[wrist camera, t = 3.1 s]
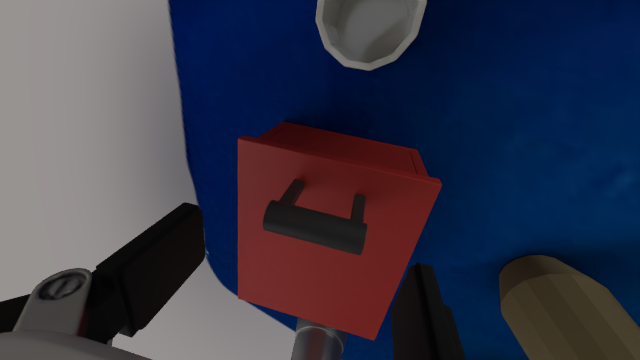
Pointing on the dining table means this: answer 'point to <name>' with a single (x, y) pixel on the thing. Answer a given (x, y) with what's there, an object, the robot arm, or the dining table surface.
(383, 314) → the red box lid
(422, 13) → the container
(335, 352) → the silver metal bottle
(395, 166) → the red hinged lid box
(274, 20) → the dining table surface
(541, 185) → the dining table surface
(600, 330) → the squeeze bottle
